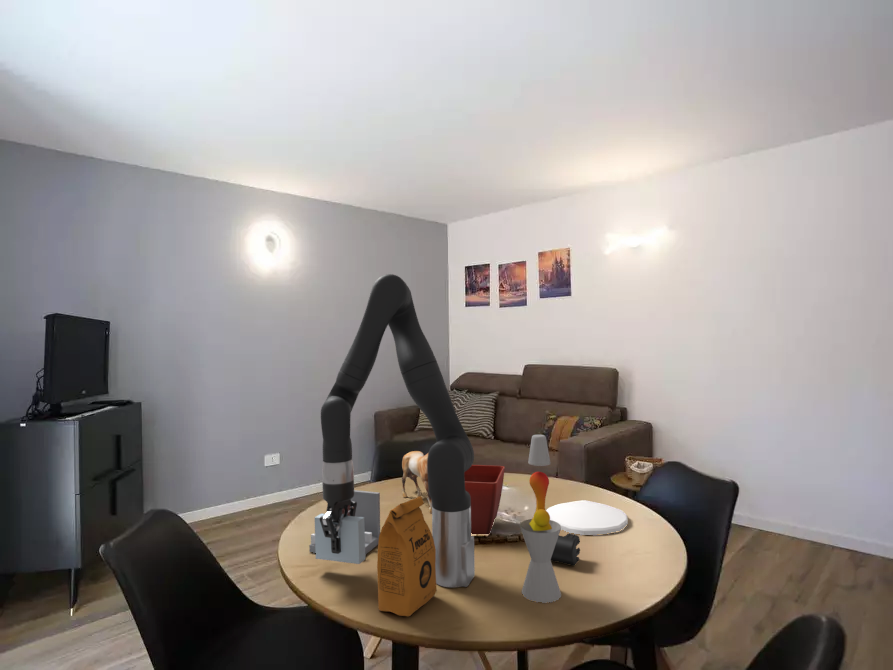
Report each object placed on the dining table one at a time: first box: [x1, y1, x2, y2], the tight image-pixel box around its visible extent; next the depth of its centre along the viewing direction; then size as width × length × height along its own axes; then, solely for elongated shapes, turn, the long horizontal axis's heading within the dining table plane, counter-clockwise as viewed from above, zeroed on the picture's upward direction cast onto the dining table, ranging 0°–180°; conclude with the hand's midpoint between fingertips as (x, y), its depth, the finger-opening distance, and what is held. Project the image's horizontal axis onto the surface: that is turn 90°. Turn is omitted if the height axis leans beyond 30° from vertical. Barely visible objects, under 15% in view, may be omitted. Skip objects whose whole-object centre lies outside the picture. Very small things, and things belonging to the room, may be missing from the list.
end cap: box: [551, 533, 581, 567], centre depth 132 cm, size 10×7×7 cm
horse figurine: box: [401, 450, 432, 514], centre depth 180 cm, size 31×8×21 cm, turn 28°
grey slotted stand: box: [308, 489, 381, 556], centre depth 142 cm, size 15×12×14 cm
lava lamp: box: [519, 434, 562, 604], centre depth 115 cm, size 9×9×35 cm
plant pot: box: [464, 464, 506, 534], centre depth 155 cm, size 19×19×17 cm
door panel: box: [314, 513, 366, 565], centre depth 126 cm, size 12×3×10 cm, turn 71°
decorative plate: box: [545, 499, 629, 536], centre depth 160 cm, size 25×4×25 cm
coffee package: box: [376, 496, 437, 617], centre depth 111 cm, size 10×12×22 cm
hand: (340, 549), depth 126 cm, fingers closed on door panel, 3 cm apart
